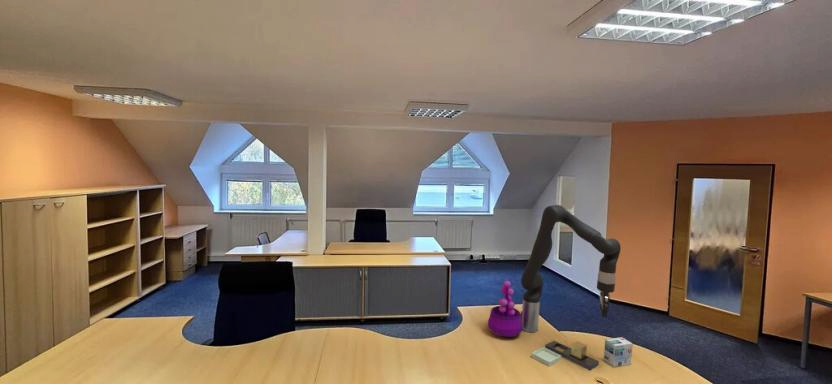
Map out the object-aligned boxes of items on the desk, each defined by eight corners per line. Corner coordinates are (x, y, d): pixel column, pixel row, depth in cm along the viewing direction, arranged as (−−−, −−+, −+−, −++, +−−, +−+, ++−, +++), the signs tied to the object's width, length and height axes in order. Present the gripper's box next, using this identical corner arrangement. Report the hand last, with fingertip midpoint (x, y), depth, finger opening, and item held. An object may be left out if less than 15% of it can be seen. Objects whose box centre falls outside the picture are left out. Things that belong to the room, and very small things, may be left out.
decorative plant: (481, 327, 213) (484, 276, 210) (509, 323, 218) (512, 274, 215) (498, 343, 195) (501, 288, 192) (528, 339, 200) (531, 285, 198)
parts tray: (531, 356, 182) (531, 352, 182) (543, 350, 188) (543, 347, 188) (549, 366, 174) (549, 362, 174) (561, 359, 180) (561, 355, 180)
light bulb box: (613, 367, 175) (615, 345, 174) (602, 360, 181) (604, 339, 180) (631, 364, 178) (633, 343, 177) (620, 357, 184) (622, 336, 183)
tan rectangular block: (570, 359, 181) (571, 343, 180) (576, 356, 184) (577, 341, 183) (580, 364, 177) (581, 348, 176) (585, 360, 180) (587, 345, 179)
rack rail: (544, 348, 191) (545, 344, 191) (553, 344, 196) (553, 340, 196) (590, 370, 172) (590, 366, 172) (598, 365, 177) (599, 361, 177)
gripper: (596, 274, 183) (593, 306, 185) (598, 283, 170) (595, 317, 171) (613, 277, 180) (610, 309, 182) (617, 286, 167) (613, 320, 169)
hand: (603, 313), depth 177 cm, fingers open, 8 cm apart
